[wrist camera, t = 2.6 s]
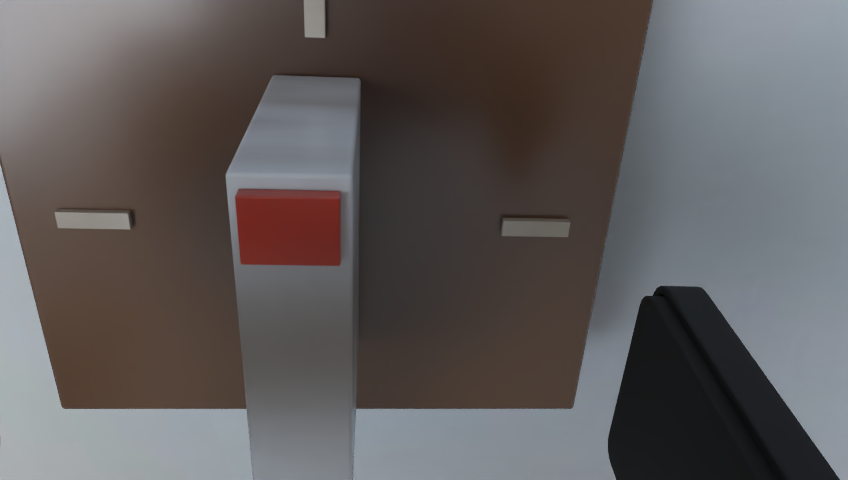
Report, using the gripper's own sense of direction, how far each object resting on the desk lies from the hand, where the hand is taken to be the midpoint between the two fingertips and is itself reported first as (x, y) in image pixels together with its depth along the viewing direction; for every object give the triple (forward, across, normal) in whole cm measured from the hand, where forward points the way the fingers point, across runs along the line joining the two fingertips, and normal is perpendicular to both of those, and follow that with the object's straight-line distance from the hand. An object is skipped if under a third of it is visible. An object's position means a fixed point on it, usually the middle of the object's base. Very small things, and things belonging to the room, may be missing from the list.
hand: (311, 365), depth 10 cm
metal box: (+5, 0, 0) cm, 5 cm away
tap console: (+8, 0, 0) cm, 8 cm away
